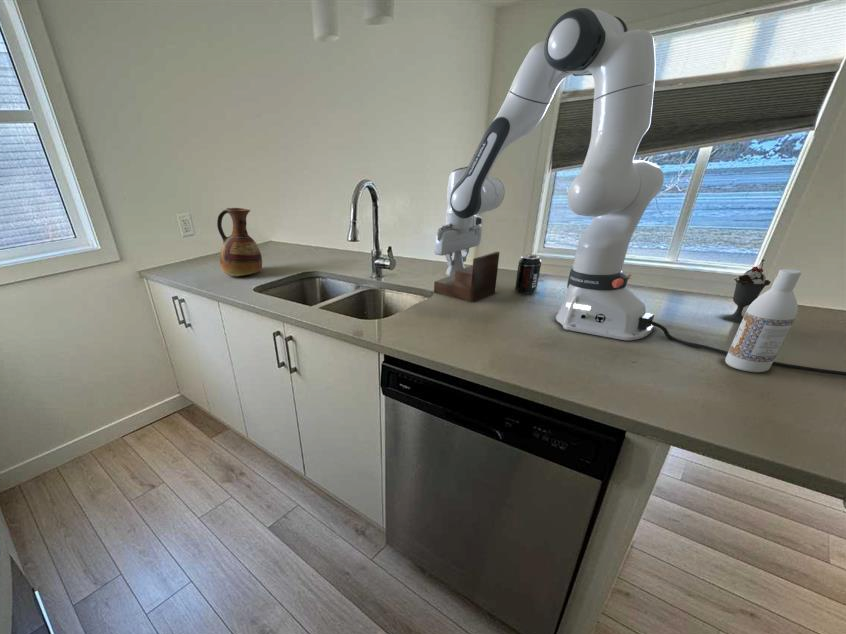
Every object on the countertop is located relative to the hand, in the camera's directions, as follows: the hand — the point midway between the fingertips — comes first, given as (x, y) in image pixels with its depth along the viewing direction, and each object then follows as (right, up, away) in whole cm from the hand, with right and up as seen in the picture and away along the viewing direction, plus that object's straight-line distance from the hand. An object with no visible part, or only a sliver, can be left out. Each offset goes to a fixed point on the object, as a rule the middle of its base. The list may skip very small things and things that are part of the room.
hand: (456, 263), depth 141 cm
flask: (0, -3, +2) cm, 4 cm away
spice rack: (+3, -10, +2) cm, 10 cm away
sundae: (+63, -25, -35) cm, 76 cm away
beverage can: (+23, -11, -3) cm, 25 cm away
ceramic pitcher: (-87, +11, +54) cm, 104 cm away
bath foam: (+44, -39, -56) cm, 81 cm away
